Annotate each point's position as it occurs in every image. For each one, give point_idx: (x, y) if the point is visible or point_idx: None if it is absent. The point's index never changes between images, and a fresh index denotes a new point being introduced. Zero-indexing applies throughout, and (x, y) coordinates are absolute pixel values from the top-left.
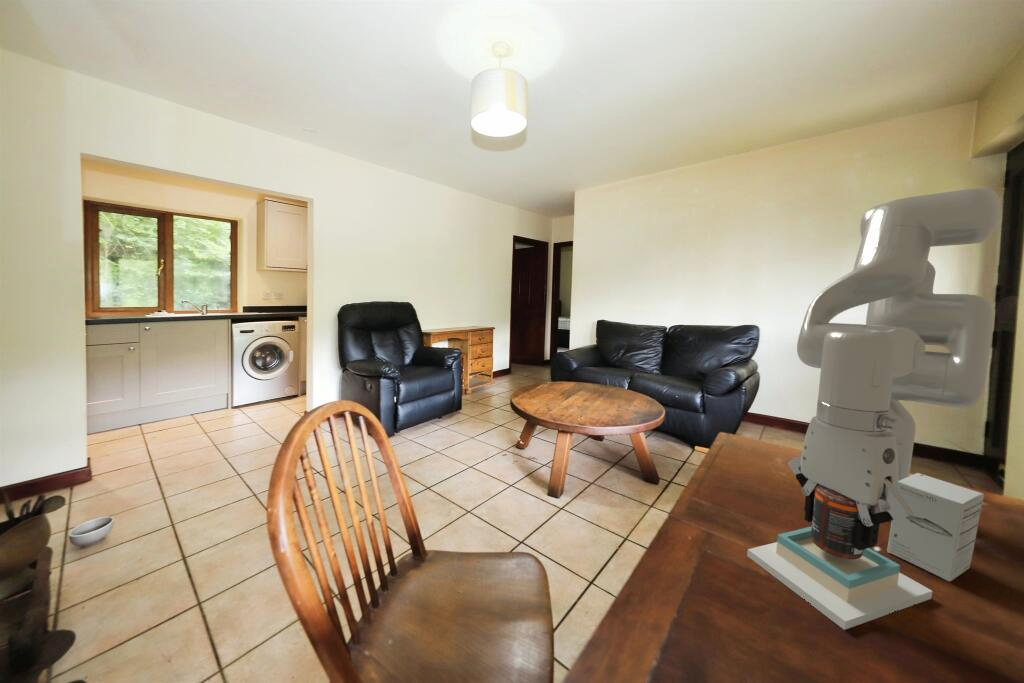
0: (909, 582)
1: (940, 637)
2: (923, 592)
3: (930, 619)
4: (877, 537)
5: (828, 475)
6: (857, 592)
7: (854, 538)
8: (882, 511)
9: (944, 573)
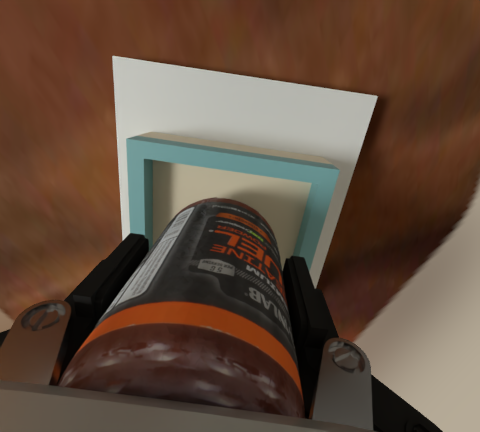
0: (336, 112)
1: (393, 214)
2: (364, 126)
3: (376, 177)
4: (325, 304)
5: None
6: None
7: None
8: (371, 406)
9: None
